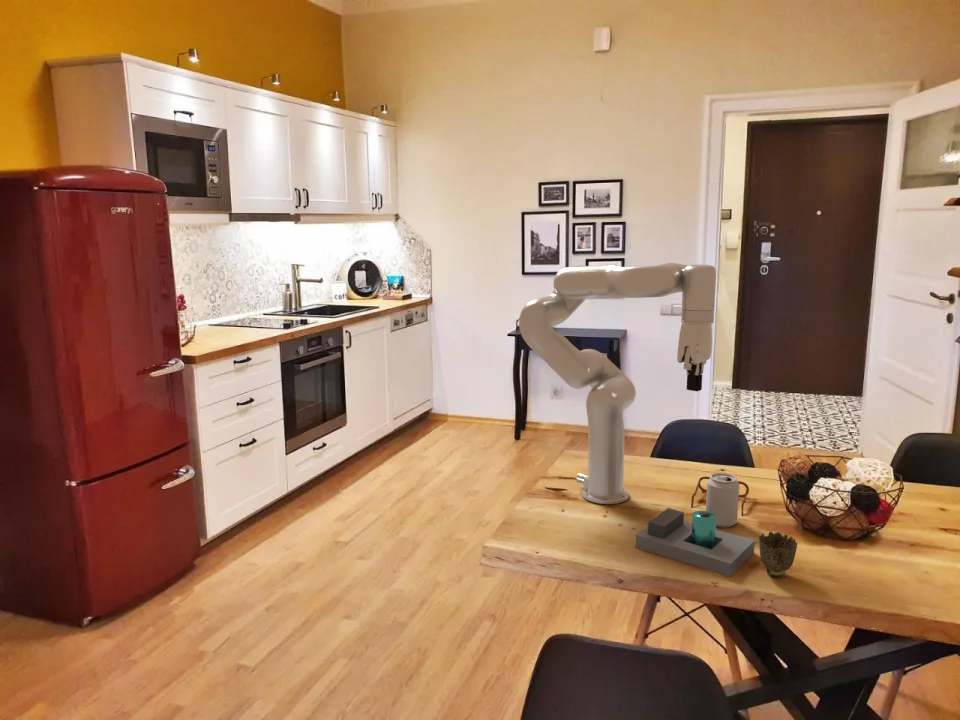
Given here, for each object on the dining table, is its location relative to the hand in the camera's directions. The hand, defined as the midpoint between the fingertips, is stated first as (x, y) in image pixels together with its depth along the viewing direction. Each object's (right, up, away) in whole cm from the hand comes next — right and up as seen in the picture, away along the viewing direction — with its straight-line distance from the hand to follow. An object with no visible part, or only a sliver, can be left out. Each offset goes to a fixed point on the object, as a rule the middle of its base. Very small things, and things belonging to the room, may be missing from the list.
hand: (694, 389), depth 175 cm
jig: (-4, -36, -14) cm, 39 cm away
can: (+7, -33, 0) cm, 34 cm away
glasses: (+10, -31, +12) cm, 35 cm away
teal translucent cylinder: (-3, -36, -15) cm, 39 cm away
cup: (+9, -38, -26) cm, 47 cm away
